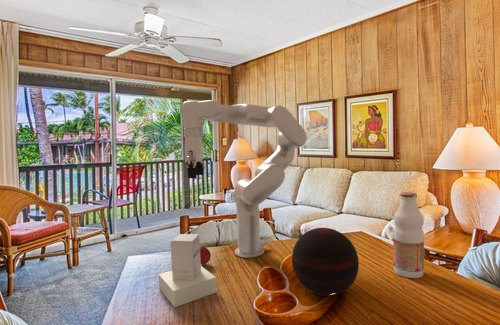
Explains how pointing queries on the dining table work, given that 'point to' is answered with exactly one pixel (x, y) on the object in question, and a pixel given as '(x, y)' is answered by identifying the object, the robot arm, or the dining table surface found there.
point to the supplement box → (185, 256)
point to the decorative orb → (325, 261)
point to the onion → (204, 255)
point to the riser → (187, 287)
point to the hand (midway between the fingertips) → (195, 176)
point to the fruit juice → (408, 238)
